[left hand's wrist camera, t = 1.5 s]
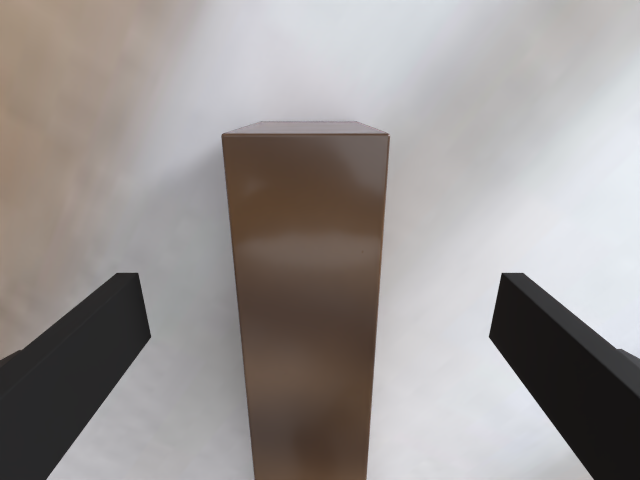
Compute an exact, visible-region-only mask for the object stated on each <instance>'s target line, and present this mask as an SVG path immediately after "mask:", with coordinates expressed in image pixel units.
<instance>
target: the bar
mask: <svg viewBox="0 0 640 480" xmlns="http://www.w3.org/2000/svg"><path fill="white" fill-rule="evenodd" d="M221 137H222V147H223V157H224V168H225V178H226V188H227V199H228V209H229V219H230V230H231V240H232V250H233V261H234V271H235V281H236V292H237V302H238V312H239V323H240V333H241V343H242V354H243V364H244V374H245V385H246V395H247V406H248V416H249V426H250V437H251V447H252V457H253V468H254V478H255V480H366V477H367V463H368V448H369V434H370V419H371V405H372V390H373V376H374V361H375V347H376V332H377V318H378V303H379V289H380V274H381V260H382V245H383V231H384V216H385V202H386V187H387V173H388V158H389V144H390V134H388V133H386V132H383V131H380V130H378V129H375V128H373V127H370V126H367V125H365V124H362V123H359V122H357V121H262V122H258V123H255V124H252V125H249V126H246V127H242V128H239V129H236V130H233V131H230V132H227V133H224V134H222V136H221Z"/></svg>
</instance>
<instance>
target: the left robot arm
mask: <svg viewBox="0 0 640 480" xmlns="http://www.w3.org/2000/svg"><path fill="white" fill-rule="evenodd" d="M150 338H151V334H150V329H149V324H148V319H147V314H146V309H145V304H144V299H143V294H142V289H141V284H140V280H139V275H138V273H116V274H115V275H114V276H113V277H111V278H110V279H109V280H108V281H106V282H105V283H104V284H103V285H102V286H100V287H99V288H98V289H97V290H95V291H94V292H93V293H92V294H90V295H89V296H88V297H87V298H86V299H84V300H83V301H82V302H81V303H79V304H78V305H77V306H76V307H74V308H73V309H72V310H71V311H70V312H68V313H67V314H66V315H65V316H63V317H62V318H61V319H60V320H58V321H57V322H56V323H55V324H54V325H52V326H51V327H50V328H49V329H47V330H46V331H45V332H44V333H42V334H41V335H40V336H39V337H38V338H36V339H35V340H34V341H33V342H31V343H30V344H29V345H28V346H27V347H25V348H24V349H23V350H19V351H17V352H15V353H13V354H11V355H9V356H7V357H6V358H4V359H2V360H0V480H46V479H47V478H48V476H49V475H50V474H51V472H52V471H53V469H54V468H55V467H56V465H57V464H58V463H59V461H60V460H61V459H62V457H63V456H64V455H65V453H66V452H67V450H68V449H69V448H70V446H71V445H72V444H73V442H74V441H75V440H76V438H77V437H78V436H79V434H80V433H81V431H82V430H83V429H84V427H85V426H86V425H87V423H88V422H89V421H90V419H91V418H92V417H93V415H94V414H95V412H96V411H97V410H98V408H99V407H100V406H101V404H102V403H103V402H104V400H105V399H106V398H107V396H108V395H109V393H110V392H111V391H112V389H113V388H114V387H115V385H116V384H117V383H118V381H119V380H120V379H121V377H122V376H123V375H124V373H125V372H126V370H127V369H128V368H129V366H130V365H131V364H132V362H133V361H134V360H135V358H136V357H137V356H138V354H139V353H140V351H141V350H142V349H143V347H144V346H145V345H146V343H147V342H148V341H149V339H150ZM489 338H490V339H491V341H492V342H493V343H494V345H495V346H496V347H497V349H498V350H499V351H500V353H501V354H502V356H503V357H504V358H505V360H506V361H507V362H508V364H509V365H510V366H511V368H512V369H513V370H514V372H515V373H516V375H517V376H518V377H519V379H520V380H521V381H522V383H523V384H524V385H525V387H526V388H527V389H528V391H529V392H530V393H531V395H532V396H533V398H534V399H535V400H536V402H537V403H538V404H539V406H540V407H541V408H542V410H543V411H544V412H545V414H546V415H547V417H548V418H549V419H550V421H551V422H552V423H553V425H554V426H555V427H556V429H557V430H558V431H559V433H560V434H561V436H562V437H563V438H564V440H565V441H566V442H567V444H568V445H569V446H570V448H571V449H572V450H573V452H574V453H575V455H576V456H577V457H578V459H579V460H580V461H581V463H582V464H583V465H584V467H585V468H586V469H587V471H588V472H589V474H590V475H591V476H592V478H593V479H594V480H640V359H639V358H637V357H635V356H633V355H632V354H630V353H628V352H626V351H624V350H622V349H616V348H615V347H613V346H612V345H611V344H610V343H609V342H607V341H606V340H605V339H604V338H602V337H601V336H600V335H599V334H598V333H596V332H595V331H594V330H593V329H591V328H590V327H589V326H588V325H586V324H585V323H584V322H583V321H582V320H580V319H579V318H578V317H577V316H575V315H574V314H573V313H572V312H570V311H569V310H568V309H567V308H566V307H564V306H563V305H562V304H561V303H559V302H558V301H557V300H556V299H554V298H553V297H552V296H551V295H550V294H548V293H547V292H546V291H545V290H543V289H542V288H541V287H540V286H538V285H537V284H536V283H535V282H534V281H532V280H531V279H530V278H529V277H527V276H526V275H525V274H524V273H502V275H501V280H500V284H499V289H498V294H497V299H496V304H495V309H494V314H493V319H492V324H491V329H490V334H489Z"/></svg>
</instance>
